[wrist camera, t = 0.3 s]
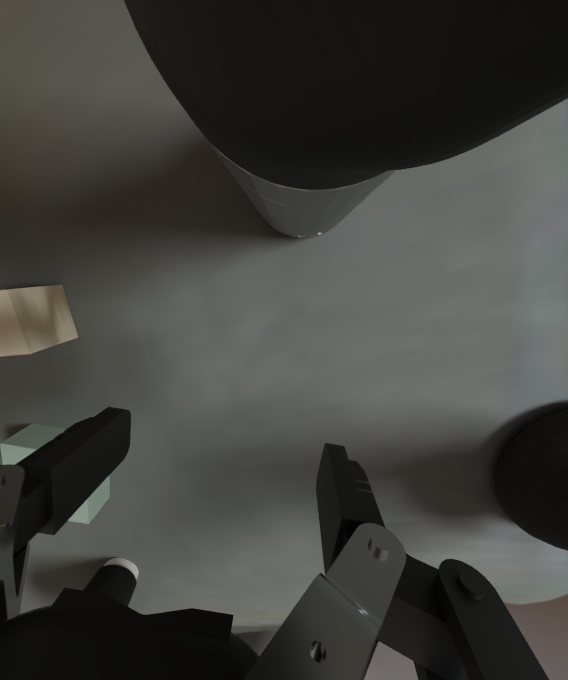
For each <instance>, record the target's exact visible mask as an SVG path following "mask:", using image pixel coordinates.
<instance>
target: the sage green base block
mask: <svg viewBox="0 0 568 680" xmlns="http://www.w3.org/2000/svg"><path fill="white" fill-rule="evenodd" d="M65 430H66V429H63V428H58V427H52V426H46V425H41V424H35V423H32V424H31V425H29V426H27V427H26V428H24V429H22V430H21V431H19V432H17V433H16V434H14V435H13V436H11V437H9V438H8V439H6V440H4V441H3V442H1V443H0V447H1V454H2V462H3V465H6V464H12V465H15V464H16V463H18V462H19V461H21V460H22V459H24V458H25V457H27V456H28V455H30V454H31V453H33V452H34V451H36V450H37V449H38V448H40V447H41V446H43V445H44V444H46V443H47V442H49V441H50V440H53V439H54V438H55V437H56V436H58V435H59V434H61V433H63V432H64V431H65ZM109 498H110V475H109V476H108V477H107V478H106V479H105V480H104V481H103V483H102V484H101V485H100V486H99V487H98V488H97V489H96V490H95V491H94V492H93V493H92V495H91V496H90V497H89V498H88V499H87V500H86V501H85V502H84V503H83V504H82V505H81V506H80V508H79V509H78V510H77V511H76V512H75V513H74V514H73V515H72V516H71V517H70V518H69V520H68V521H72V522H78V523H84V524H89V523H90V522H91V520H92V519H93V518H94V517H95V515H96V514H97V513H98V511H99V510H100V509H101V508H102V506H103V505H104V504H105V503H106V501H107V500H108V499H109Z"/></svg>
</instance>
